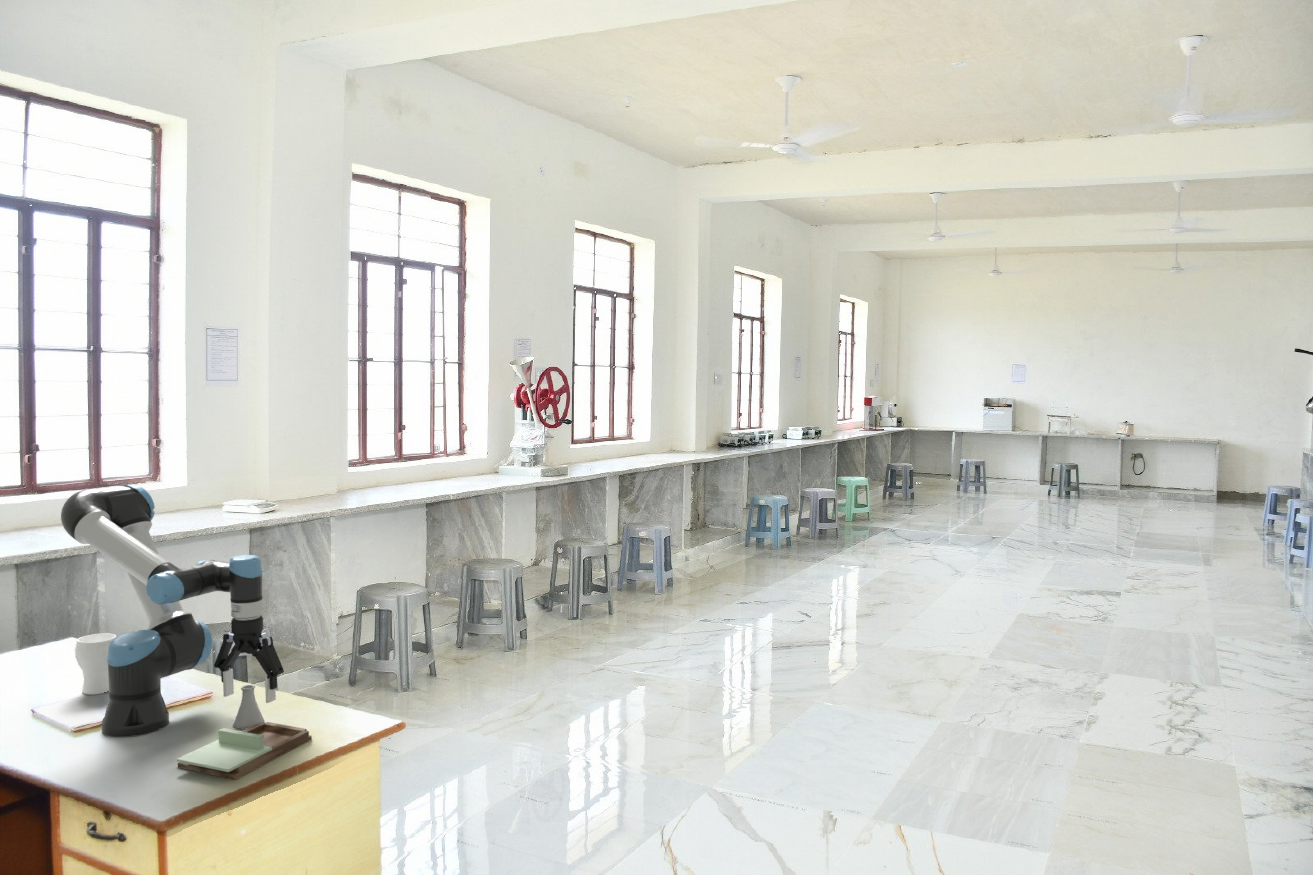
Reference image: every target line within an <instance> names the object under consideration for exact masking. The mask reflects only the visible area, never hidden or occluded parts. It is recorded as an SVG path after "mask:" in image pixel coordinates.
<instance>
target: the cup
mask: <svg viewBox="0 0 1313 875" xmlns="http://www.w3.org/2000/svg"><path fill="white" fill-rule="evenodd" d="M117 637H118V636H117V635H116V634H114V633H110V632H106V633H105V632H103V633H101V632H100V633H99V632H98V633H93V634H87V635H84V636H81V637H79V638H77V640H76V643H75V647H74V654H75V655H74V657H75V659H76V662H77V665H78V666H79V668H80V669H81V671H82V676H83V684H82V691H81V692H82V694H84V695H100V694H105V693H104V692H106V693H108V692H107V691H109V677H108V662H107V657H108V648H109V645H110V643H111V642H112V641H113V640H114V639H115V638H117Z"/></svg>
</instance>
